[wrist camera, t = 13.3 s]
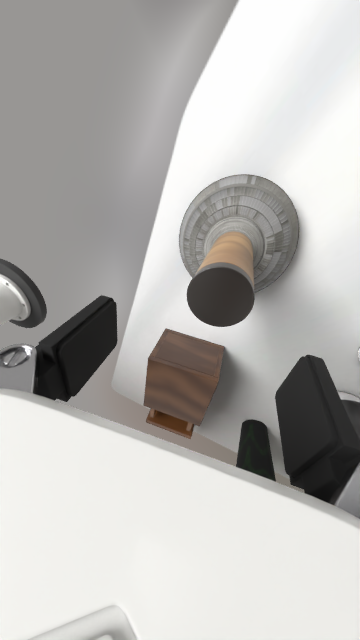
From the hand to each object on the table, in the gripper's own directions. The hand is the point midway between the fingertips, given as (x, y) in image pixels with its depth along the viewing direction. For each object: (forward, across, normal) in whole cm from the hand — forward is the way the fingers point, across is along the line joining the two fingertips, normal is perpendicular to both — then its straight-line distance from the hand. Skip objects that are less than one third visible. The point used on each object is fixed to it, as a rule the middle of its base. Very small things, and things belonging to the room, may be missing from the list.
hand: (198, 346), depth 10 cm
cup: (+23, -18, +38) cm, 48 cm away
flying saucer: (+23, -1, 0) cm, 23 cm away
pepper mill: (+17, -1, 0) cm, 17 cm away
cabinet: (+23, +1, +24) cm, 33 cm away
